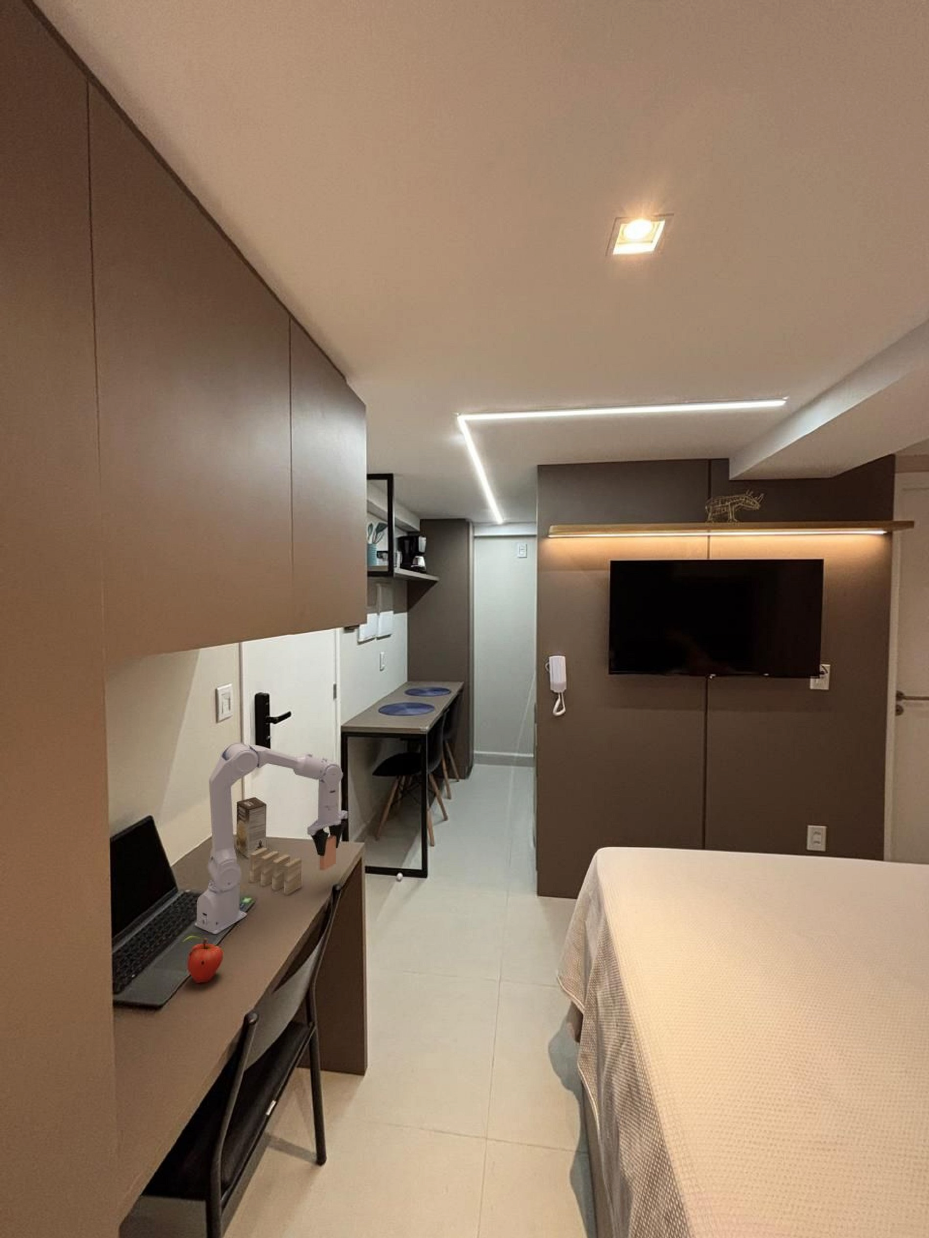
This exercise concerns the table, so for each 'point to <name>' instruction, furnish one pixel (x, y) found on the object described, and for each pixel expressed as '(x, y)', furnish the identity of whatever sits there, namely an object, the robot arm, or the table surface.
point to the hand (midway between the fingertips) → (327, 851)
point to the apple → (204, 960)
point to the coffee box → (250, 826)
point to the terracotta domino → (329, 854)
